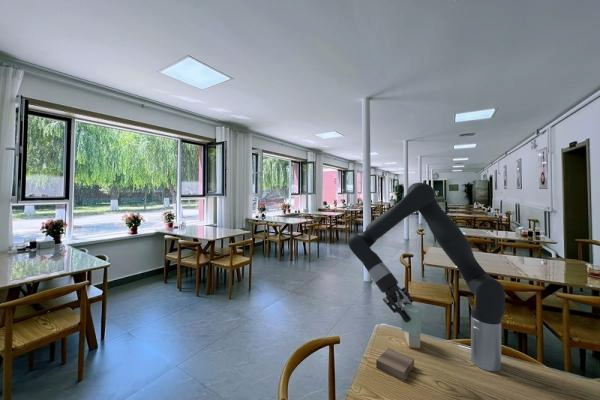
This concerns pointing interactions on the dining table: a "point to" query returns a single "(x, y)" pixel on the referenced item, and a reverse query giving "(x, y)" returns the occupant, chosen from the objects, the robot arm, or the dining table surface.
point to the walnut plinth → (395, 364)
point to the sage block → (412, 319)
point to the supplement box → (413, 340)
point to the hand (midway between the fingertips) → (412, 318)
